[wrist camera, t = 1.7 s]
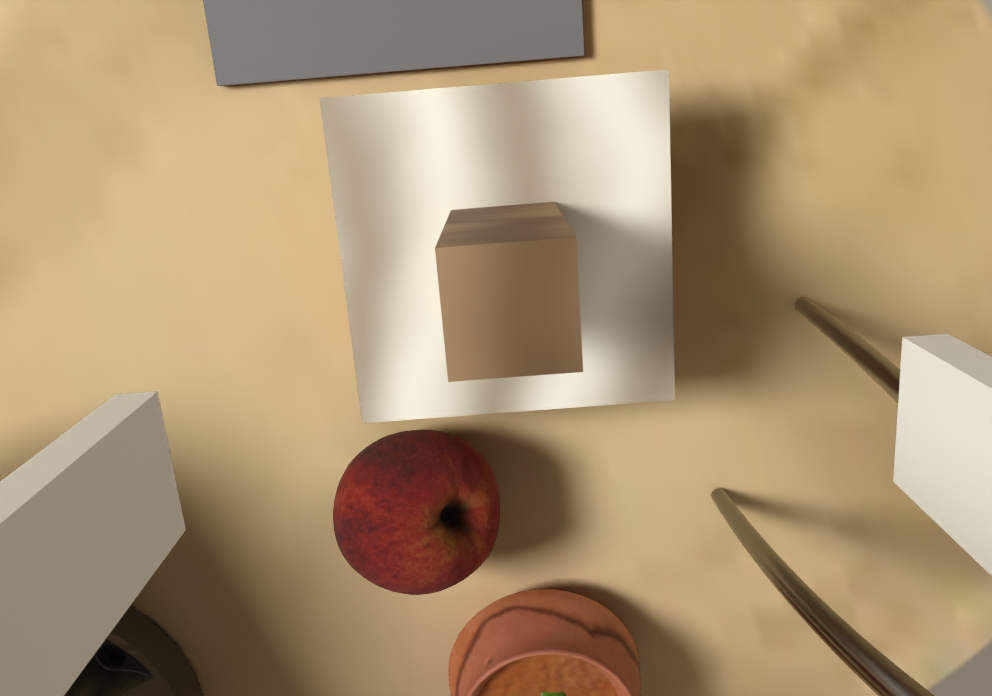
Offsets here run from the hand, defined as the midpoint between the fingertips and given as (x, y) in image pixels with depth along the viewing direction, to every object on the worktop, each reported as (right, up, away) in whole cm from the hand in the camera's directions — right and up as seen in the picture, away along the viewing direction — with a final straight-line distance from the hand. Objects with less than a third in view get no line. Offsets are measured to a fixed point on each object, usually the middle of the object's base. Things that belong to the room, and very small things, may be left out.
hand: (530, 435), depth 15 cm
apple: (-4, -5, +28) cm, 28 cm away
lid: (0, +6, +20) cm, 21 cm away
